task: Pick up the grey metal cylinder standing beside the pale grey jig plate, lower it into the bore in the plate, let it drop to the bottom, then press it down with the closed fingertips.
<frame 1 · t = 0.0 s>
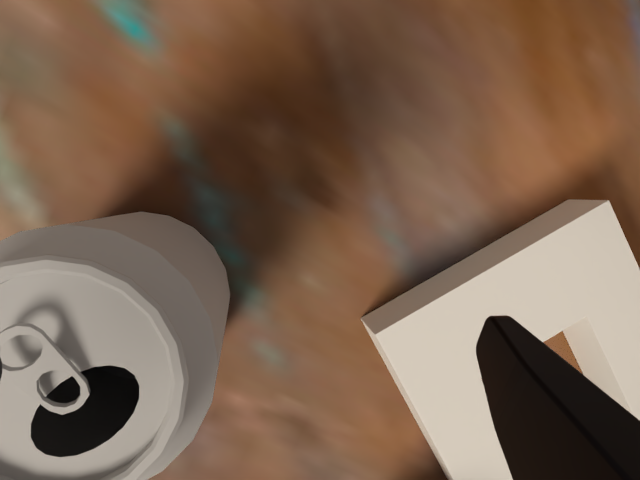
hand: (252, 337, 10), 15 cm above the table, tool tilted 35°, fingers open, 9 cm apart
jig: (525, 376, 27), on the table
can: (148, 292, 24), on the table
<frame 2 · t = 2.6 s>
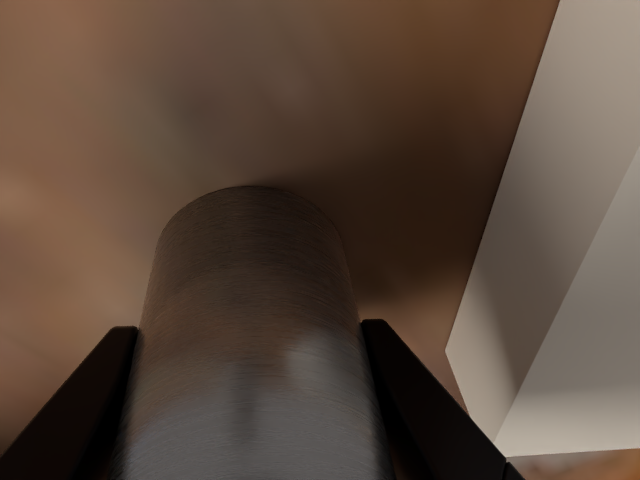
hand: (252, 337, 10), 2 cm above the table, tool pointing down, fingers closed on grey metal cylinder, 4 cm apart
grey metal cylinder: (251, 265, 11), on the table, touching gripper
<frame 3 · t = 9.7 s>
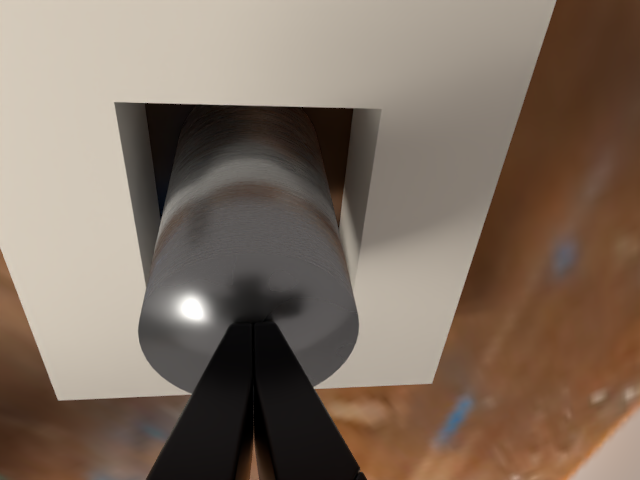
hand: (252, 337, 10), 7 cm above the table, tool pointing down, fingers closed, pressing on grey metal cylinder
jig: (251, 154, 15), on the table
grey metal cylinder: (249, 153, 15), resting in jig, touching gripper
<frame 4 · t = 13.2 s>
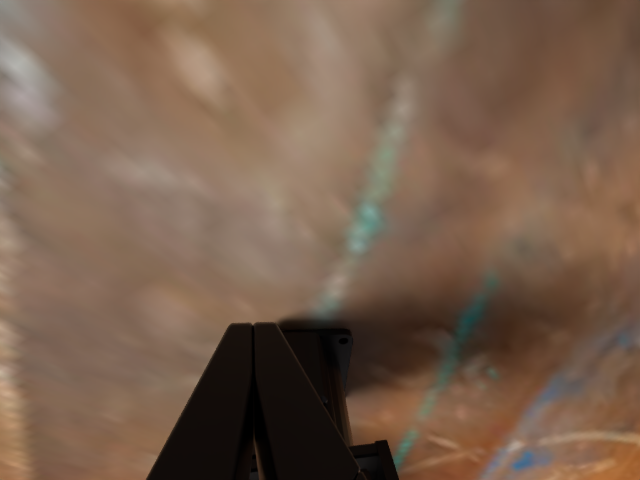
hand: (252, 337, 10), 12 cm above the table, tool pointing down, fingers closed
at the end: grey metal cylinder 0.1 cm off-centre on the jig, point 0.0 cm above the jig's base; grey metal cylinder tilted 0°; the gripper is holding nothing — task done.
